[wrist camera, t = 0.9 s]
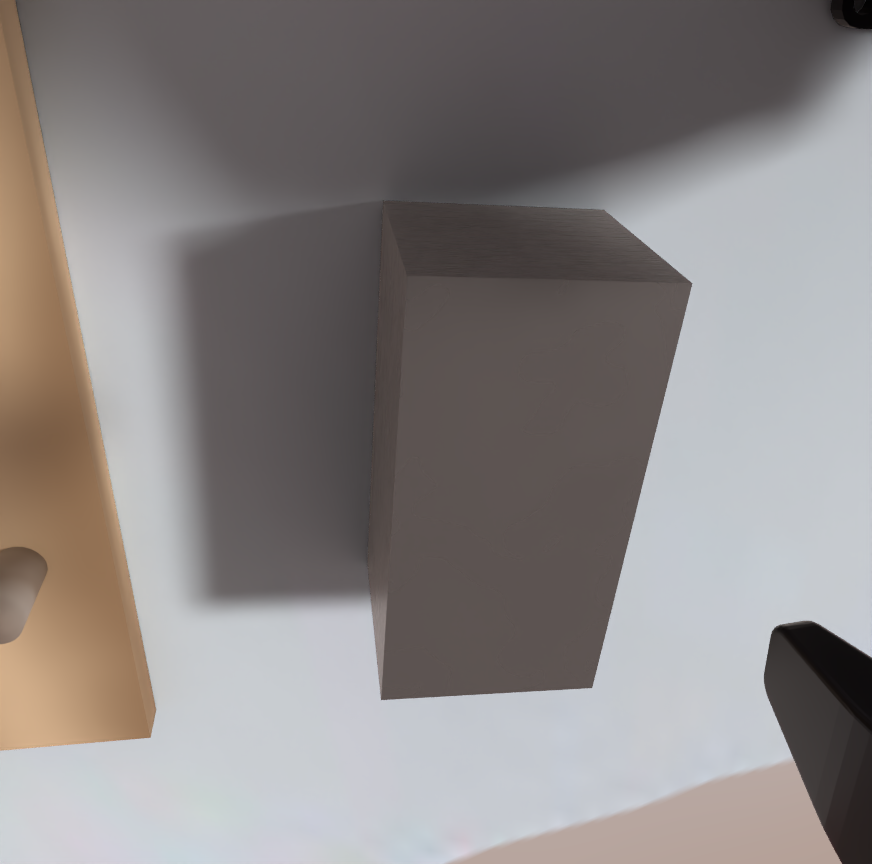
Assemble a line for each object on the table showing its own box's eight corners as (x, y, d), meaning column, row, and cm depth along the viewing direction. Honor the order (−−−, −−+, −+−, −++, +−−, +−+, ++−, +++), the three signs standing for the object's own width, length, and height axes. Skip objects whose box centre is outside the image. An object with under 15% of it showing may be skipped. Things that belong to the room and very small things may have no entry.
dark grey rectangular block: (601, 207, 18) (692, 283, 14) (539, 553, 23) (591, 688, 19) (382, 198, 17) (406, 275, 13) (366, 558, 22) (380, 699, 18)
